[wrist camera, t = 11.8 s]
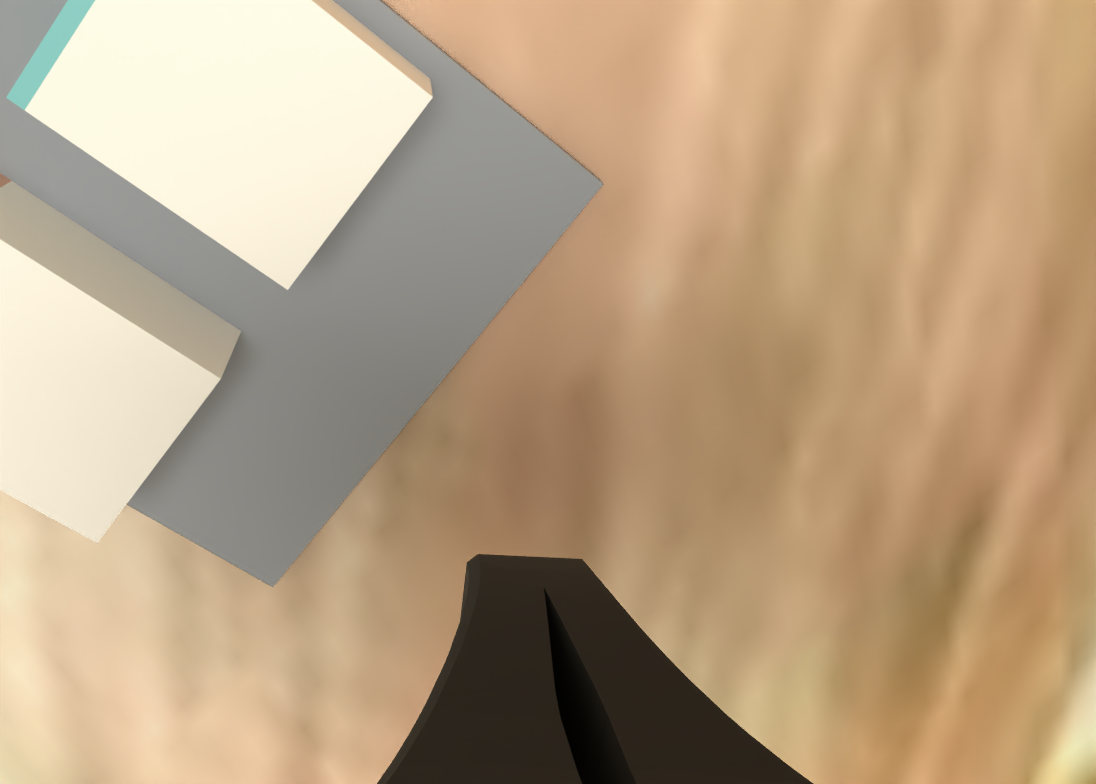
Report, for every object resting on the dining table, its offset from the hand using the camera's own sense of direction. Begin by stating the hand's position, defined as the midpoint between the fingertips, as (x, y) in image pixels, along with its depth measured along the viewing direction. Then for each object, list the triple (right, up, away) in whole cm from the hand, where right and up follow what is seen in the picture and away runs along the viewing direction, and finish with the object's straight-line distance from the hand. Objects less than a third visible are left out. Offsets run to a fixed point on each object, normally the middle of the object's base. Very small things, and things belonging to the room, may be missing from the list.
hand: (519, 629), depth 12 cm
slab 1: (-3, +6, +6) cm, 9 cm away
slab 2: (-7, +2, +7) cm, 10 cm away
